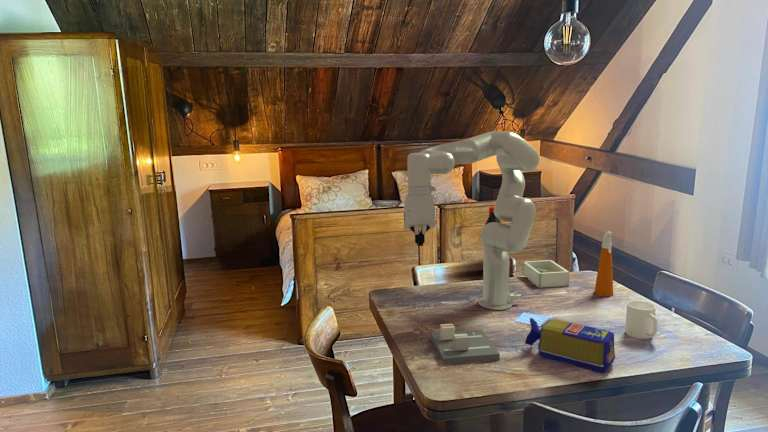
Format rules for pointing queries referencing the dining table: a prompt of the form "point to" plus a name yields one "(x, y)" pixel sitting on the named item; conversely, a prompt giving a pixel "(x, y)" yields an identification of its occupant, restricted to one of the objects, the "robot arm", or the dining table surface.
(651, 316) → the cup
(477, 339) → the console
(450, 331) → the fader
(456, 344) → the fader
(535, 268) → the medication box
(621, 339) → the dining table surface
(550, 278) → the frame
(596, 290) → the spray bottle
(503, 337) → the dining table surface
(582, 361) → the bread
